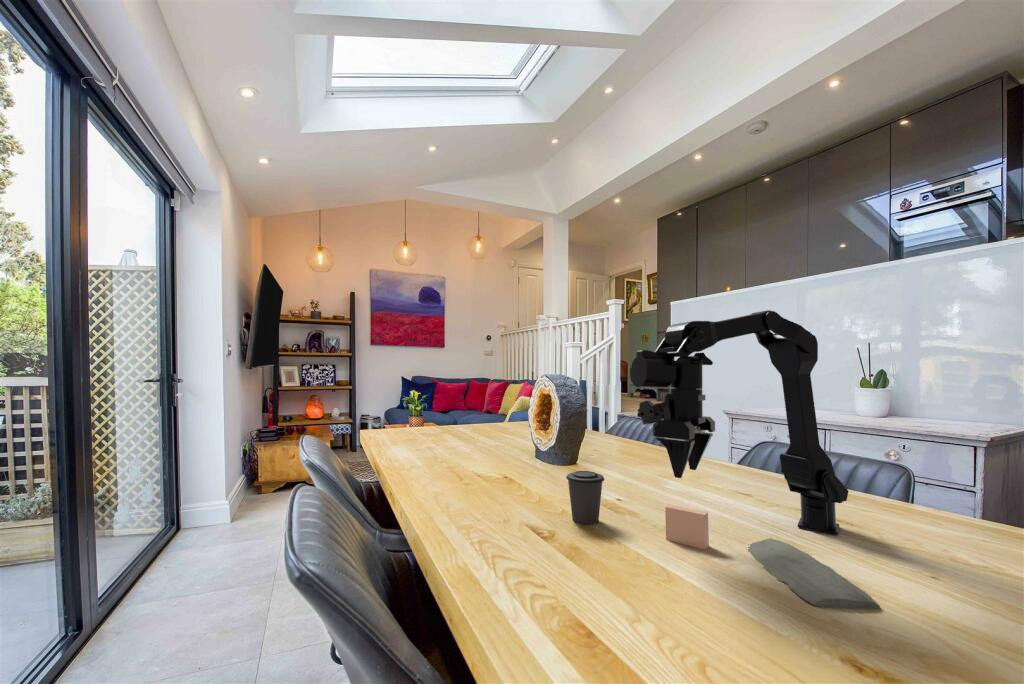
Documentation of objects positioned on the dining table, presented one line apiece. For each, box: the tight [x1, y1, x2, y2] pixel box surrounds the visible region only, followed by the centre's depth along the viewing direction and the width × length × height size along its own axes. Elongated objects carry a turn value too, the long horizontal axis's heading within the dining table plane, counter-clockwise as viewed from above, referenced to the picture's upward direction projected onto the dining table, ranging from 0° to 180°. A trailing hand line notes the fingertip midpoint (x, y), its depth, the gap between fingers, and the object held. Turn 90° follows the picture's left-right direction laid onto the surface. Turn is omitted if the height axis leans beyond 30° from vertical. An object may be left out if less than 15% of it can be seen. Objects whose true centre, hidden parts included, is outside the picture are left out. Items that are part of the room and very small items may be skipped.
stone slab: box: [747, 537, 881, 610], centre depth 68 cm, size 22×3×10 cm
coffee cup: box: [565, 470, 606, 526], centre depth 90 cm, size 8×8×10 cm
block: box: [664, 504, 710, 550], centre depth 79 cm, size 2×7×6 cm, turn 51°
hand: (685, 473), depth 79 cm, fingers open, 9 cm apart
